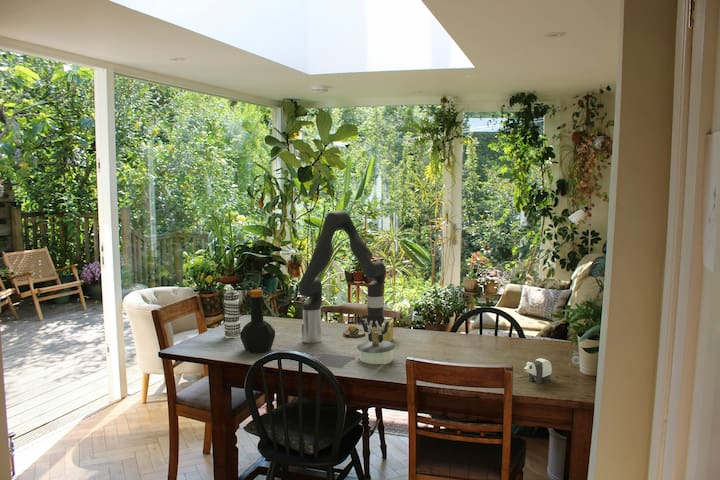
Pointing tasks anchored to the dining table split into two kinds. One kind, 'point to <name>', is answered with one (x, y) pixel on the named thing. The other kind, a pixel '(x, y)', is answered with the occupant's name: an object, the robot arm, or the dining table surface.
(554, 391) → the dining table surface
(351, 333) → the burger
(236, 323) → the decorative candle
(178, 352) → the dining table surface
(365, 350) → the lid
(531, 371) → the giant panda
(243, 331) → the bottle
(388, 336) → the cheese
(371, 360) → the bowl
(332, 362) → the mat
